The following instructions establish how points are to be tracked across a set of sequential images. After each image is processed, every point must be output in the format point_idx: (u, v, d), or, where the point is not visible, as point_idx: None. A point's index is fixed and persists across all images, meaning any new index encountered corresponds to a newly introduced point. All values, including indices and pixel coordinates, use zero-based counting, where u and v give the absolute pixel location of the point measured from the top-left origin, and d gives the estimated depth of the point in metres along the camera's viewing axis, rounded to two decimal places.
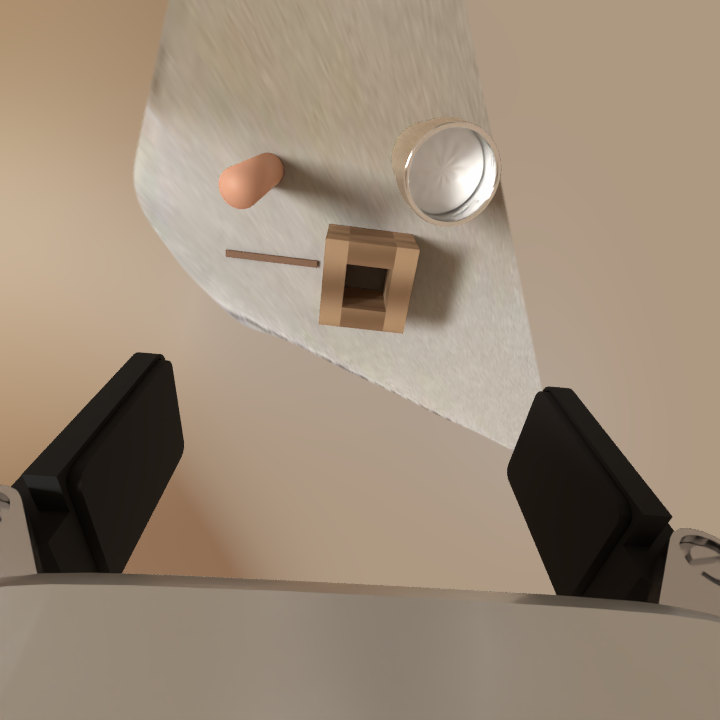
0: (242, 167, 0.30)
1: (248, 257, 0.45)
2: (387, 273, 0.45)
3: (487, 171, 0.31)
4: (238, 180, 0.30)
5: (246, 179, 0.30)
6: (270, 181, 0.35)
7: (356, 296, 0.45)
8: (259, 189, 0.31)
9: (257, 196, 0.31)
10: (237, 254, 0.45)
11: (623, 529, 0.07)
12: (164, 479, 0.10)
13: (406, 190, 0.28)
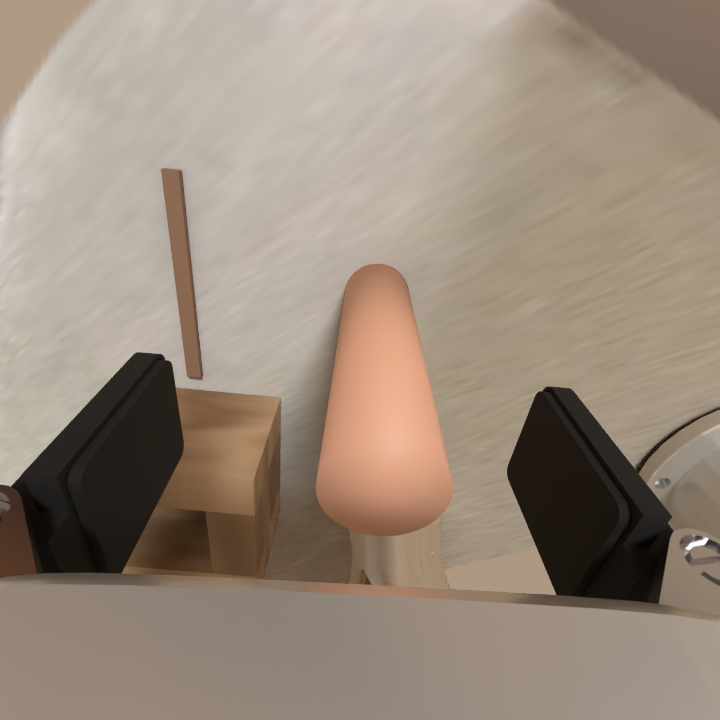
0: (445, 503, 0.09)
1: (173, 231, 0.18)
2: None
3: None
4: (407, 493, 0.09)
5: (409, 511, 0.09)
6: None
7: None
8: None
9: (358, 529, 0.10)
10: (174, 202, 0.17)
11: (623, 529, 0.07)
12: (164, 479, 0.10)
13: None
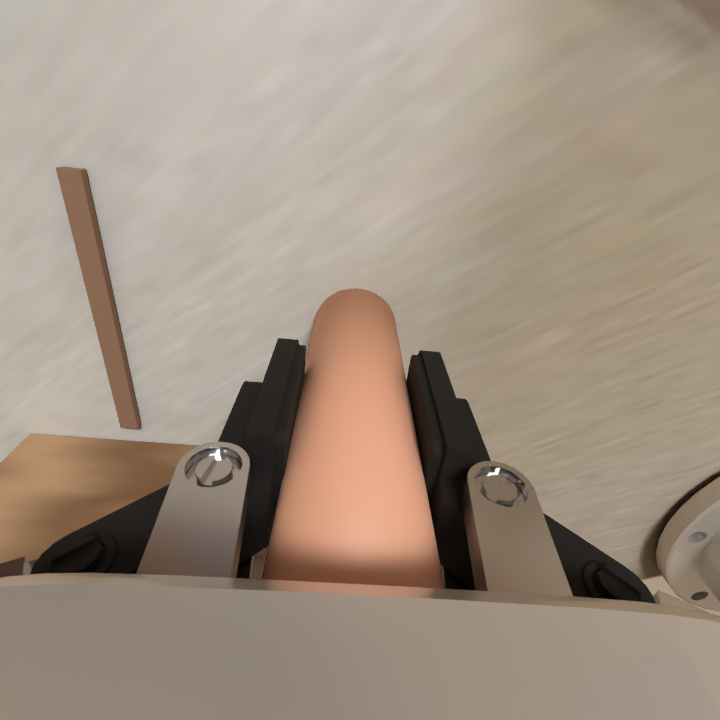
0: None
1: (83, 250, 0.13)
2: None
3: None
4: None
5: None
6: None
7: None
8: None
9: None
10: (80, 213, 0.13)
11: (438, 463, 0.08)
12: None
13: None
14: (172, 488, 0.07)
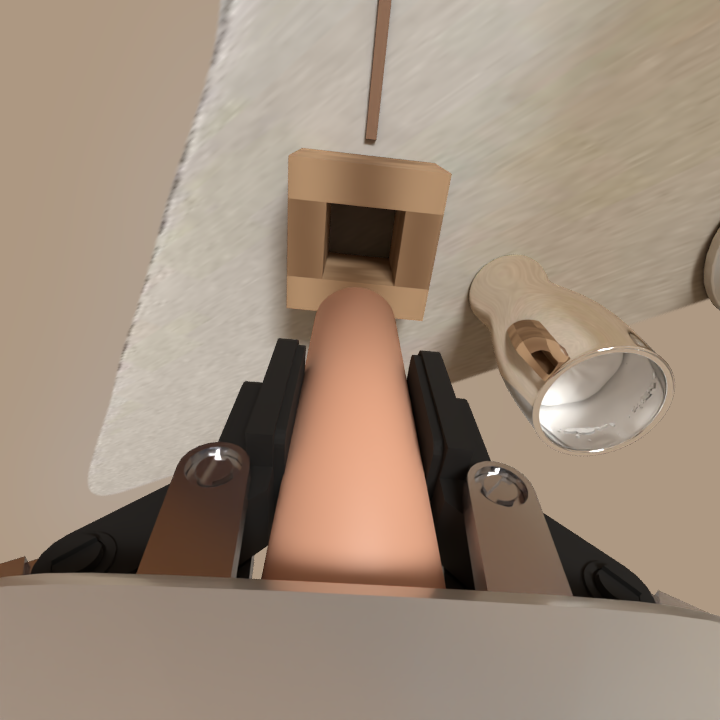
0: None
1: None
2: (364, 262, 0.30)
3: (557, 416, 0.24)
4: None
5: None
6: None
7: (328, 217, 0.27)
8: None
9: None
10: None
11: (438, 463, 0.08)
12: None
13: (602, 351, 0.18)
14: (172, 488, 0.07)
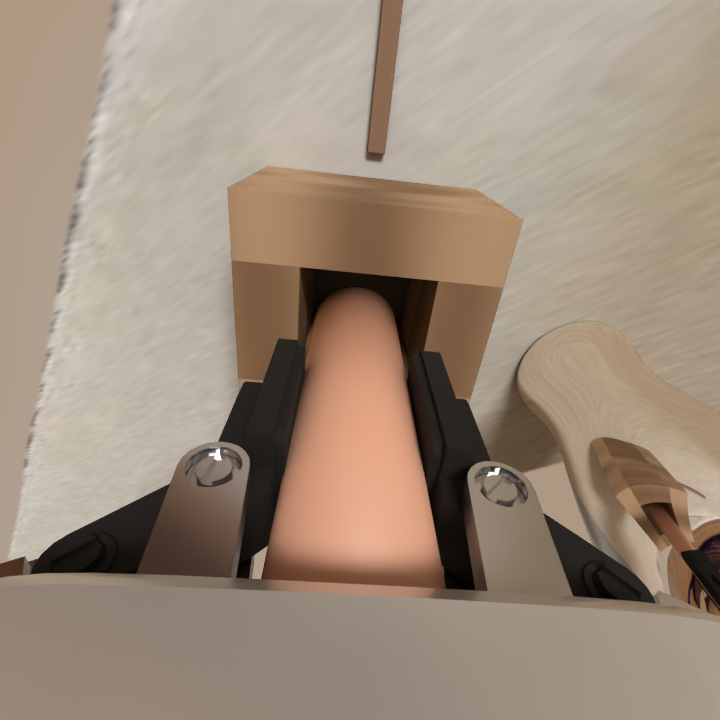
0: None
1: None
2: None
3: None
4: None
5: None
6: None
7: (309, 277, 0.17)
8: None
9: None
10: None
11: (438, 463, 0.08)
12: None
13: None
14: (172, 488, 0.07)
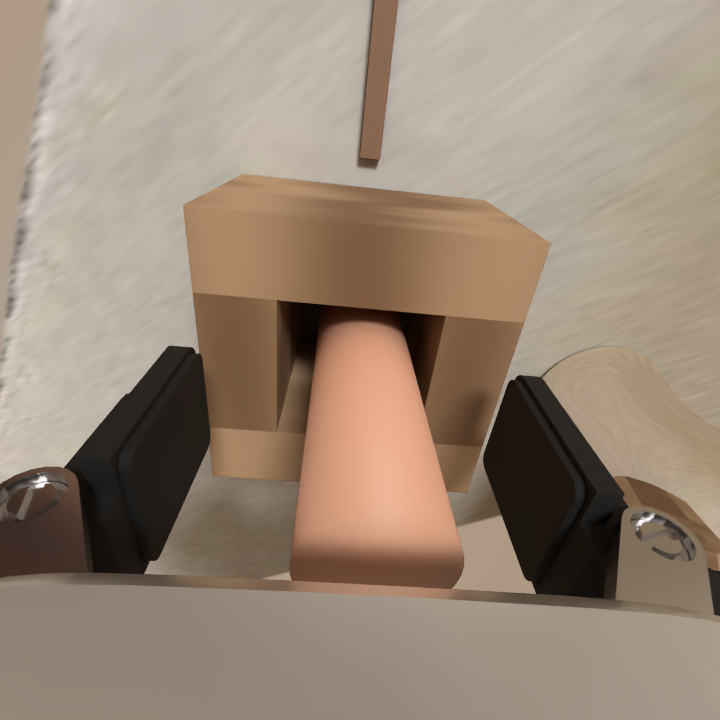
0: (454, 578, 0.07)
1: None
2: None
3: None
4: (407, 571, 0.07)
5: None
6: None
7: (292, 303, 0.15)
8: None
9: None
10: None
11: (579, 507, 0.07)
12: (194, 468, 0.10)
13: None
14: None
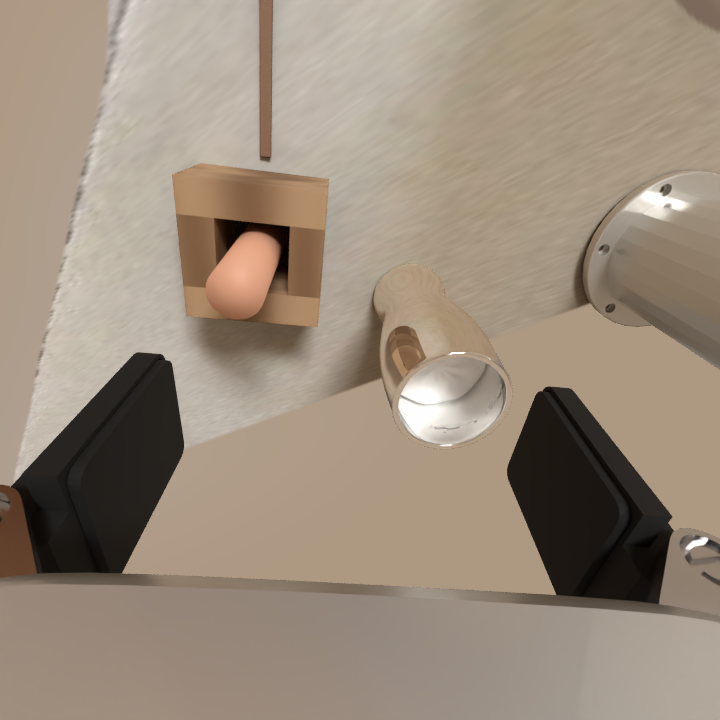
0: (263, 300, 0.22)
1: (263, 17, 0.25)
2: None
3: (433, 413, 0.27)
4: (245, 293, 0.21)
5: (248, 304, 0.22)
6: None
7: (226, 229, 0.29)
8: None
9: (227, 316, 0.22)
10: None
11: (623, 529, 0.07)
12: (164, 479, 0.10)
13: (442, 356, 0.21)
14: None
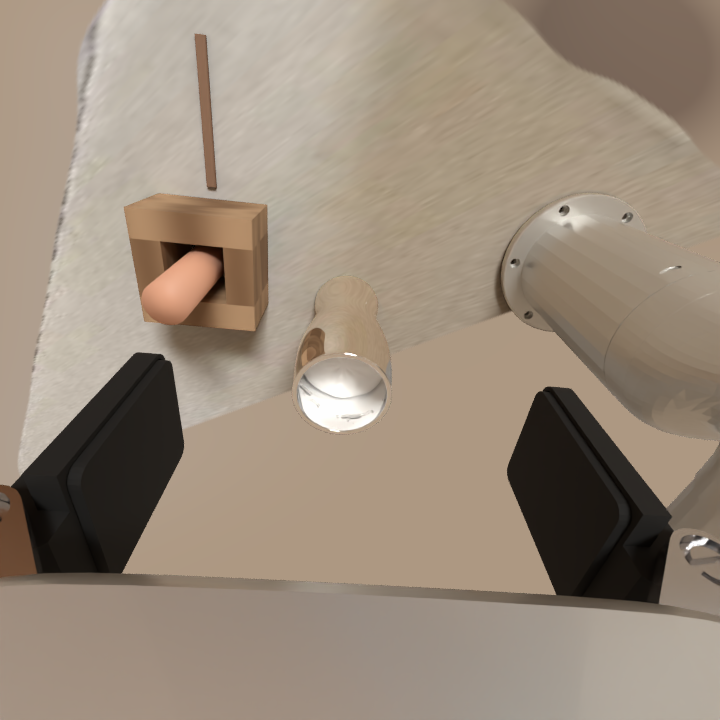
0: (189, 309, 0.27)
1: (201, 76, 0.30)
2: (218, 283, 0.37)
3: (344, 405, 0.31)
4: (173, 304, 0.27)
5: (177, 312, 0.27)
6: None
7: (179, 248, 0.34)
8: None
9: (161, 322, 0.27)
10: (202, 56, 0.29)
11: (623, 529, 0.07)
12: (164, 479, 0.10)
13: (326, 356, 0.25)
14: None
